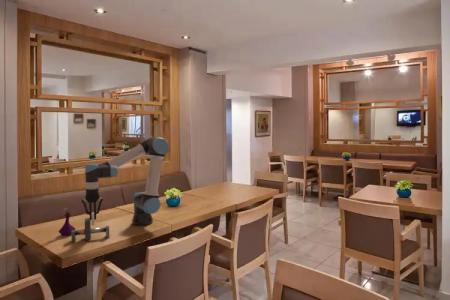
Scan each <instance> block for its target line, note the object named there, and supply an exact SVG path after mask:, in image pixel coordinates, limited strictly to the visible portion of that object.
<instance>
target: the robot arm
mask: <svg viewBox="0 0 450 300" xmlns="http://www.w3.org/2000/svg"><path fill="white" fill-rule="evenodd" d="M169 149H170V145H169V142H168V140H166V138H163V137H157V136H156V137H149V138H147V139H144V140H143V141H141V142H140V143H139V142H138V144H137V145H136V146H134V147H132V148H131V149H129V150H126V151H124V152H123V153H121V154H119V155H116V156H114V157H112V158H111V159H109V160H107V161H105V162H103V163H99V164H98V163H87V164H85V166H84V170H85V171H84V176H85V177H84V178H85V181H84V182H85V197H84V198H83V199H81V203H82V204H83V207H84V210H85V213H86V215H87V216H89V218H90V221H91V226H95V220H97V215H98V214H99V213H100V209H101V206H102V202H103V200H104V198H103V197H100V192H99V179H107V178H108V179H109V178H116V177H117V176H118V173H119V172H118V168H121V167H122V166H124V165H126V164H128V163H130V162H133V161H134V160H136V159H137V158H140V157H141V156H146V155H148V156H149V165H148V171H147V179H146V185H145V190H144V191H140V192H135V193H134V194H133V216H132V219H131V224H132V225H133V226H139V227H141V226H147V225H151V224H152V223H153V222H154V218H153V216H152V214H156V213H157V212H158V211H159V210H161V209H160V208H161V205H162V204H161V201H160V194H159V185H160V178H161V172H162V163H163V160H164V158H166V154H167V152H168V151H169ZM98 201H99V202H98ZM86 202H88V204H89V209H88V205H87V203H86ZM97 202H98V206H97V204H96V203H97ZM92 203H93V204H92ZM92 205H93V211H92ZM92 212H93V213H92Z"/></svg>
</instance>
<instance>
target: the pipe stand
mask: <svg viewBox="0 0 450 300" xmlns="http://www.w3.org/2000/svg"><path fill="white" fill-rule="evenodd" d="M100 233H105V238H106V239H110V226H109V225H106V226H104V227H95V228H91V229H90V234H91V235H92V234H100ZM76 236H85V228H84V229H83V228H82V229H78V230H77V229H75V230H72V232H71V243H76V240H77V237H76Z"/></svg>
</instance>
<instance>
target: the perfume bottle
mask: <svg viewBox="0 0 450 300" xmlns="http://www.w3.org/2000/svg"><path fill="white" fill-rule="evenodd" d="M62 210H63V213H65V214H64V217H65V221H64V224H63V225H62V227H61V228H60V229H59V230H58V233H59V234H60V235H62V237H65V236H66V237H69V236H70V235H71V232H72V230H75V231H76V228H75V227H74V226H73V225H72V224H71V223H70V217H72V214H71V211H69V208H63V209H62Z"/></svg>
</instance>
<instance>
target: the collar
mask: <svg viewBox="0 0 450 300" xmlns="http://www.w3.org/2000/svg"><path fill="white" fill-rule="evenodd" d="M91 226H92V223H91V220H90V217H86V218H84V229H85V235H84V240H85V241H89V240H91V238H92V234H90V229H92V228H91Z"/></svg>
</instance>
